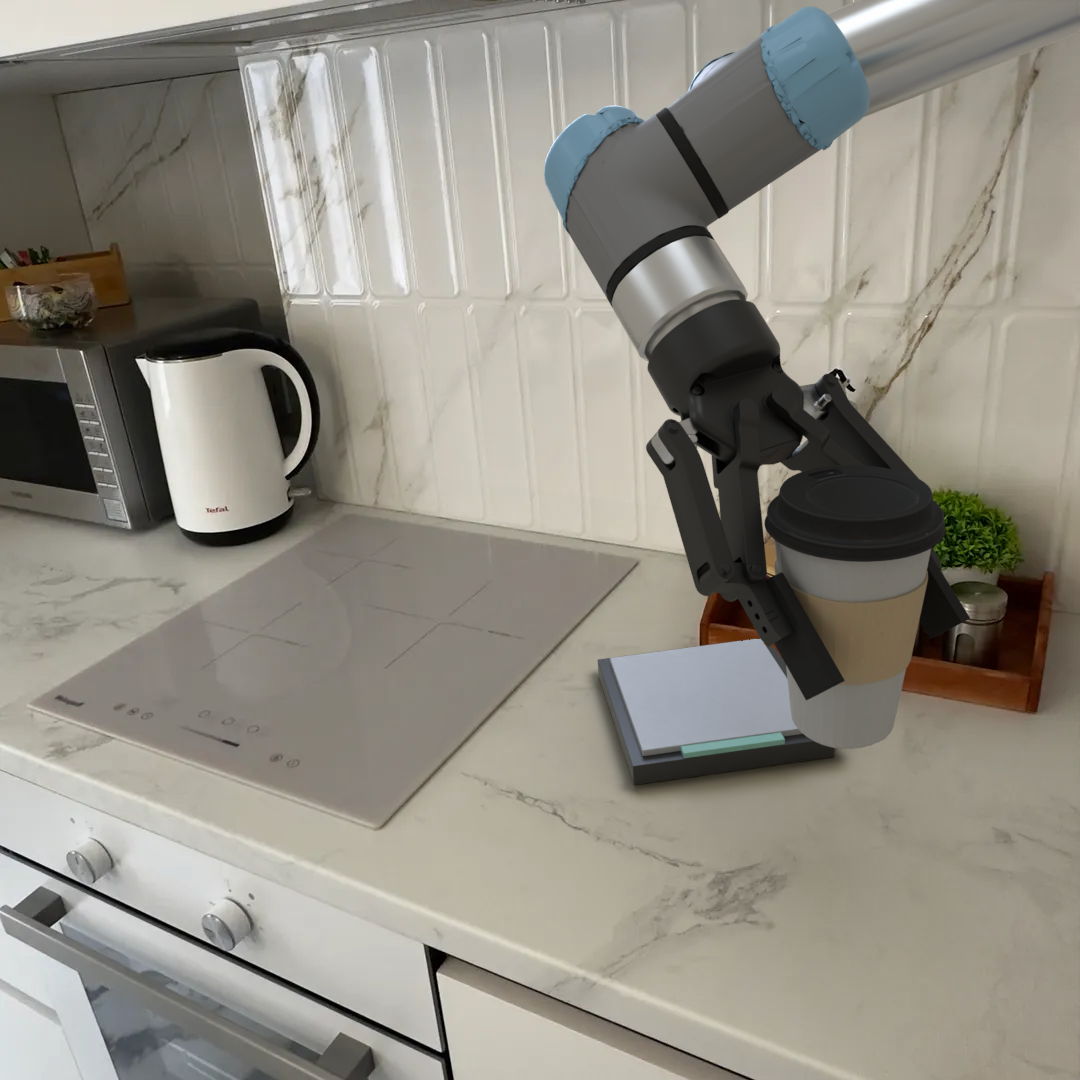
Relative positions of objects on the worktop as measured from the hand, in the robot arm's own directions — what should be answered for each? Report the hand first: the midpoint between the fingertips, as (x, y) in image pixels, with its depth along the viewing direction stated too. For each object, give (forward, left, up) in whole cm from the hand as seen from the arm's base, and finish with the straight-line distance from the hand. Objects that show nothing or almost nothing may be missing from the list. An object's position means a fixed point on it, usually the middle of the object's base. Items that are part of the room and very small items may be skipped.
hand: (890, 658), depth 54 cm
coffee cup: (+1, -3, -6) cm, 7 cm away
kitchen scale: (+4, -24, -19) cm, 31 cm away
